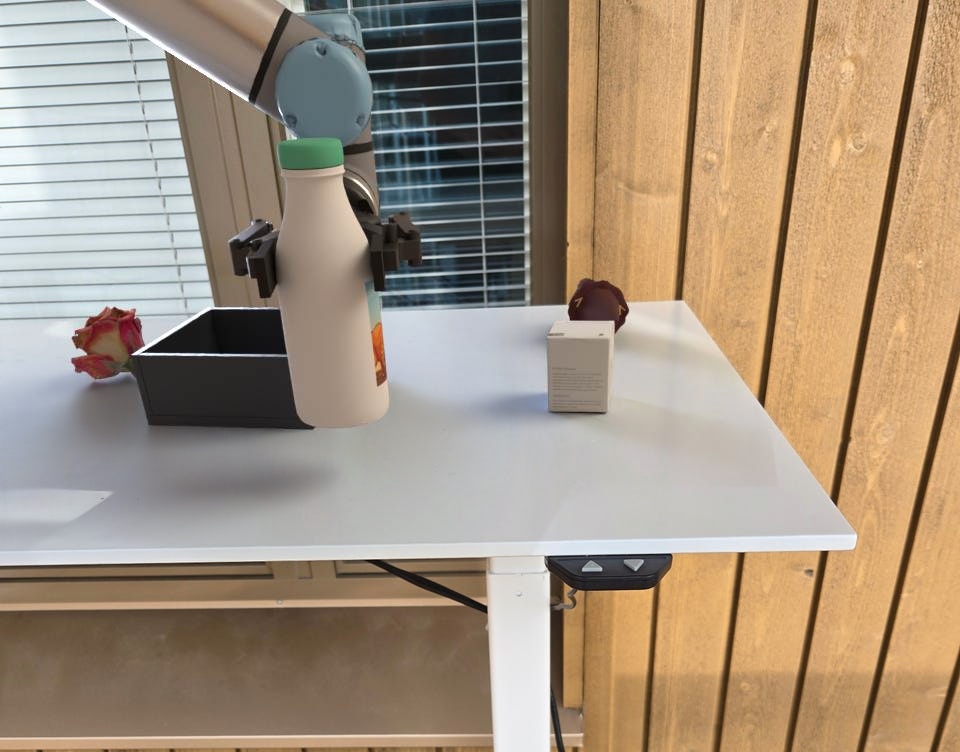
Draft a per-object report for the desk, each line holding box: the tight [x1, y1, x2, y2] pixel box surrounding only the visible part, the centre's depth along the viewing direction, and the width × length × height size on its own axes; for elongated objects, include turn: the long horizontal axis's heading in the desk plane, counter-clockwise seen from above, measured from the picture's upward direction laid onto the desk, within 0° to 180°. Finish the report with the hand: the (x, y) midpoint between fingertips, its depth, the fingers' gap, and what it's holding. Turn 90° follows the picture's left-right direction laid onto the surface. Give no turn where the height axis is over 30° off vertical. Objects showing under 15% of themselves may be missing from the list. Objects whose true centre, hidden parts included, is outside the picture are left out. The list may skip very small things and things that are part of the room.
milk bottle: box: [275, 138, 390, 429], centre depth 68 cm, size 8×8×20 cm
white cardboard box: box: [545, 320, 615, 413], centre depth 87 cm, size 6×6×7 cm
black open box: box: [130, 307, 316, 430], centre depth 93 cm, size 18×18×7 cm
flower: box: [70, 306, 146, 381], centre depth 100 cm, size 10×9×8 cm
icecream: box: [567, 277, 630, 336], centre depth 105 cm, size 7×7×15 cm
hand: (320, 274), depth 63 cm, fingers closed on milk bottle, 7 cm apart
